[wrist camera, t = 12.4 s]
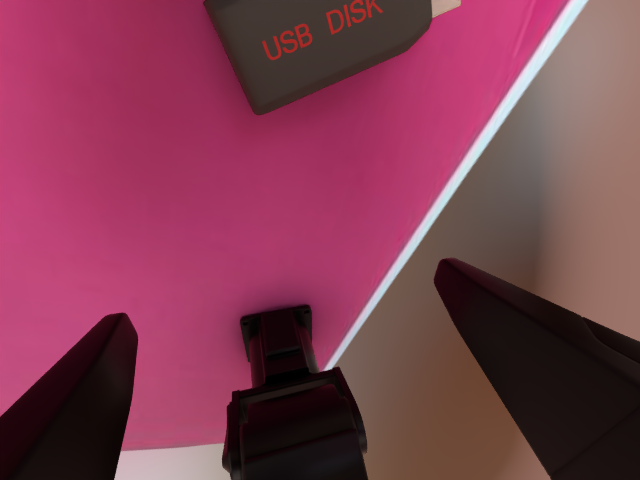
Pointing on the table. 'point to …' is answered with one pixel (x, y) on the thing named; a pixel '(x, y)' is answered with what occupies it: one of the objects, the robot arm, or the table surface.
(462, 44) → the table surface
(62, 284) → the table surface
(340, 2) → the usb drive
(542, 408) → the robot arm
